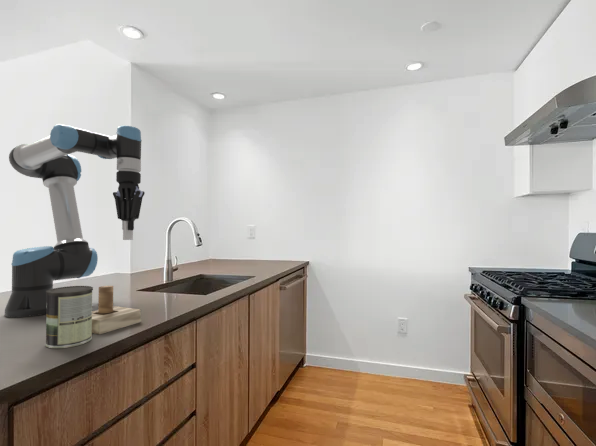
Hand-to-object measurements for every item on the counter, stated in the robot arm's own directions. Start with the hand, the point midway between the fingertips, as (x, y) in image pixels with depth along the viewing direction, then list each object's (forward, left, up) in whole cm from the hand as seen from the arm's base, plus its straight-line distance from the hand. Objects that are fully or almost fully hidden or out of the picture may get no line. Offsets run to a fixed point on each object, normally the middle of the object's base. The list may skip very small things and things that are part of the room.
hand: (127, 239), depth 115 cm
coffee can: (+9, -24, -27) cm, 37 cm away
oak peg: (+3, -10, -26) cm, 28 cm away
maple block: (+4, -10, -26) cm, 29 cm away
